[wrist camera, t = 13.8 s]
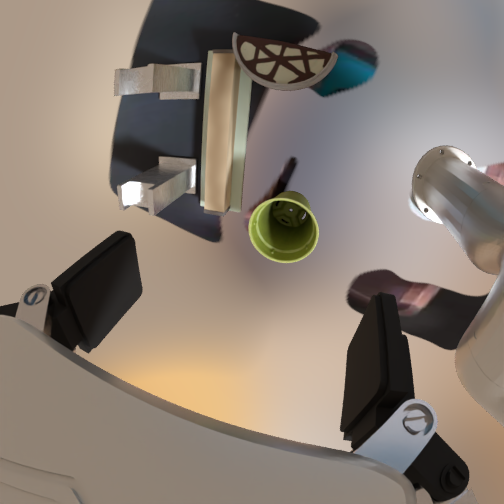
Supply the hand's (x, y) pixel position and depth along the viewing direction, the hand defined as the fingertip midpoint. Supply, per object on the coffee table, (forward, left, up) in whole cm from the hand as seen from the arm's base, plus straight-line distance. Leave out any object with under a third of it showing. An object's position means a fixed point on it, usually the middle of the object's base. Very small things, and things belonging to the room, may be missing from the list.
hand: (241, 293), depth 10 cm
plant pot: (+1, +10, -34) cm, 35 cm away
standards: (+20, -1, -34) cm, 39 cm away
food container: (+4, -11, -34) cm, 36 cm away
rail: (+12, -1, -33) cm, 35 cm away
